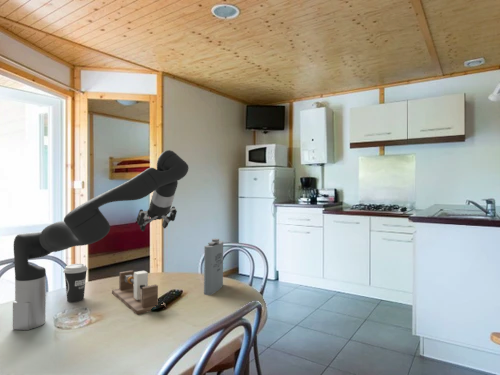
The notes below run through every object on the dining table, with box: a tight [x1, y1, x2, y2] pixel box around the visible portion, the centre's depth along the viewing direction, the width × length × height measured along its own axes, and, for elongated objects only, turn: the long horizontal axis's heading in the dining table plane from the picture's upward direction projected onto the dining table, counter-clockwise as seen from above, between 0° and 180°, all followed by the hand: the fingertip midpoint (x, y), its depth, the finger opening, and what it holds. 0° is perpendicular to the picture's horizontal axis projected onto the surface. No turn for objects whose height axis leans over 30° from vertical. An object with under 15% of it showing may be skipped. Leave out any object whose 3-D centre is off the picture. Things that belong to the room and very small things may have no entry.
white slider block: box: [133, 270, 149, 300], centre depth 141 cm, size 4×5×11 cm
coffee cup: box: [63, 263, 89, 303], centre depth 144 cm, size 10×10×15 cm
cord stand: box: [111, 269, 166, 315], centre depth 144 cm, size 32×12×10 cm, turn 39°
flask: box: [203, 238, 224, 296], centre depth 160 cm, size 17×5×25 cm, turn 164°
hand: (153, 228), depth 128 cm, fingers open, 8 cm apart
